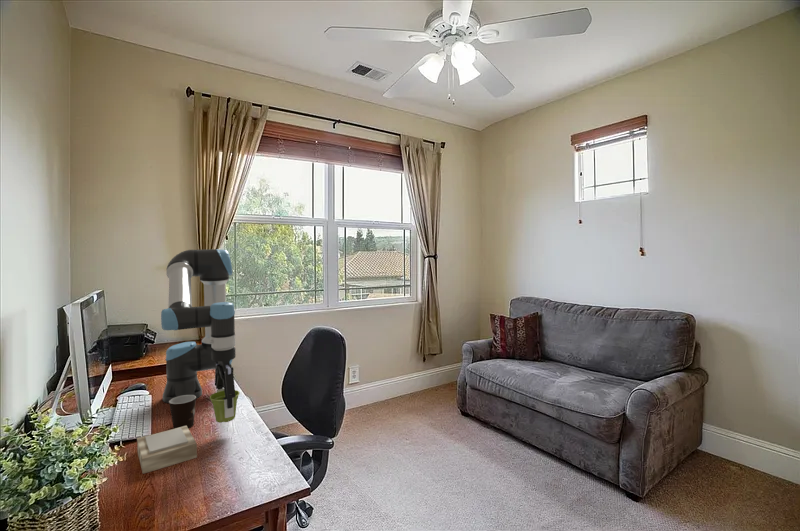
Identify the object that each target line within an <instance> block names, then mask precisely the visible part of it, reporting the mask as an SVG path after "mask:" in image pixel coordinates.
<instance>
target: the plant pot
mask: <svg viewBox="0 0 800 531" xmlns="http://www.w3.org/2000/svg"><path fill="white" fill-rule="evenodd" d="M230 395H231V394H230ZM235 395H236V397H234V398H233V401H234V416H232V417H228V418H225V407H224V400H223V398H225V392H224V391H219V392H217V391H216V392H214V393H212V394H211V395H210V396H209V400H210V401H211V403H212V408H213V412H214V418H215V421H216V423H219V424H222V423H229V422H232V421H234V420H235V418H236V414H237V404H238V400H239V395H240V391H238V390H236V389H235Z"/></svg>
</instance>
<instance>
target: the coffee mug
mask: <svg viewBox="0 0 800 531" xmlns="http://www.w3.org/2000/svg"><path fill="white" fill-rule="evenodd" d="M196 402H197V398H196V396H194V395H183V396H178V397H175V398H173V399H171V400H170V401H169V403H168V404H169V410H170V415H171V422H172V429H175V428H179V427H183V426H186V425H187V427H188V429H191V428H192V427H193V426H194V425H195V424H194V423H195V415H196V414H195V413H196Z"/></svg>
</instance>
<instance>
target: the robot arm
mask: <svg viewBox="0 0 800 531" xmlns="http://www.w3.org/2000/svg"><path fill="white" fill-rule="evenodd" d="M230 256H231V255H230V253H229V251H228V250H227V249H218V248H213V249H212V248H210V249H186V250H183V251H181V252H179V253H178V254H176V255H175V256H173V257H172V258H171V260H169V262H168V263H167V267H166V270H165V271H166V273H165V274H166V277H167V279H168V304H167V306H168V308H164V309H162V310H161V312H160V315H161V316H160V317H161V318H160V322H161V324H160V325H161V328H162V330H164V331H181V330H189V329H190V330H191V329H199V328H200V329H201V328H204V333H205V334H204V337H203V338H202V339H201V343H200V344H198V343H196V341H185V342H180V343H177V344H173V345H171V346H169V347H168V348H167V349H166V351H165V361H166V362H165V364H166V366H165V367H166V368H165V369H166V382H165V383H166V384H165V386H164V389H163V392H162V402H163V403H166V404H169V401H170V400H171V399H173V398H175V397H178V396H183V395H194V396H196V399H198V398H200V397H201V396H202V395H203V388H202V385H201V383H200V381H199V378H198V372H203V371H209V370H215V371H214V386H215V388H216V392H219V391H224V392H225V398H223V400H224V407H225V418H228V417H232V416H234V401H233V398H234V397H236V395H235V390H236V387H235V376H234V366H232V363H233V360H234V359H235V358H236V355H237V354H236V347H235V346H236V333H235V332H236V331H235V322H236V321H235V320H236V319H235V314H236V311H235V304H234V303H233V302H228V301H226V298H227V297H226V283H227V282H228V281H229V279H230V278H229V277H230V276H232V275H233V267H232V266H233V265H232V260H231V257H230ZM193 277H195V278H196V277H199V281H200V282H201V283H202V284H203V296H204V297H203V298H204V299H203V300H204V304H203V305H202V306H193V300H192V298H193V297H192V295H193V294H192V278H193ZM230 394H231V395H230Z"/></svg>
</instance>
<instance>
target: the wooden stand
mask: <svg viewBox="0 0 800 531" xmlns="http://www.w3.org/2000/svg"><path fill="white" fill-rule="evenodd" d="M189 429H190V428H188V427H187V425H186V426H183V427H179V428H175V429H174V428H172V429H168V430H164V431H160V432H156V433H153V434H152V433H151V434H148V435H145V436H140V437H137V438H136V445H137V446H136V447H137V456H138V460H139V464H140V467H141V468H140V469H141V473H142V474H147V473H151V472H154V471H157V470H161V469H163V468H167V467H170V466H174V465H176V464H180V463H183V462H186V461H187V462H188V461H190V460H192V459H196V458H198V450H197V449H198V446H197V445H198V444H197V442H196V440H195V438H194V436H193V435H192V433H191V430H189Z"/></svg>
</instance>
